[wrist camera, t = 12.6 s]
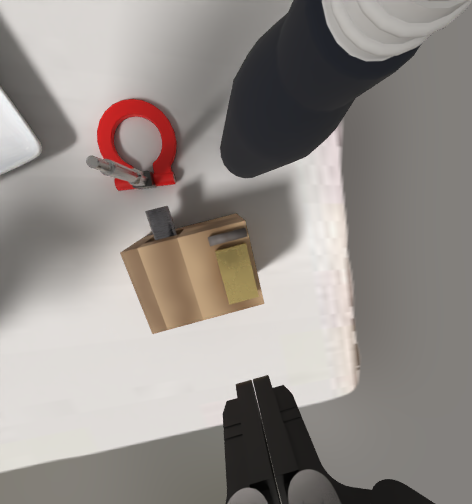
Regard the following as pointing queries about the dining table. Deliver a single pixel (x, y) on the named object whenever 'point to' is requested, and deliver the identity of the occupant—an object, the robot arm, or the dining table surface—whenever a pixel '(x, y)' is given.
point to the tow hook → (112, 161)
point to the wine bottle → (319, 74)
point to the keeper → (237, 273)
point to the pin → (161, 223)
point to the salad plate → (15, 137)
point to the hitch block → (186, 273)
